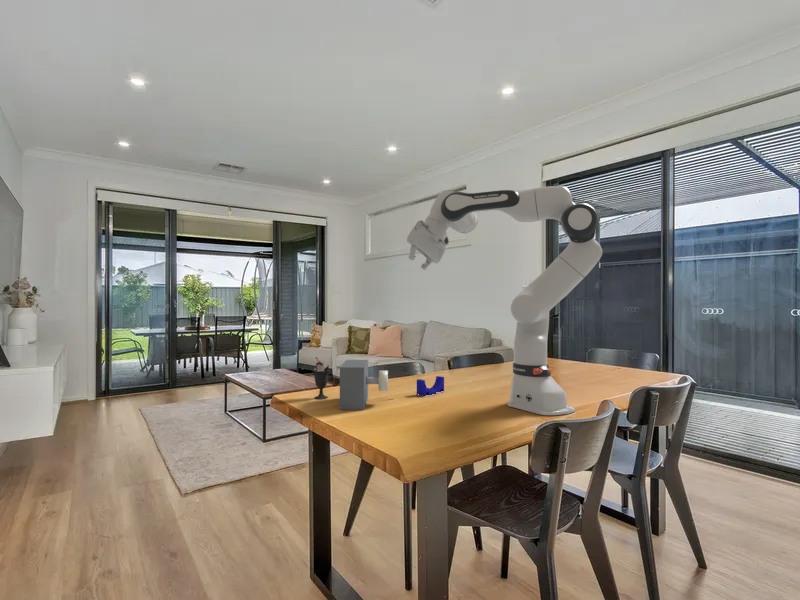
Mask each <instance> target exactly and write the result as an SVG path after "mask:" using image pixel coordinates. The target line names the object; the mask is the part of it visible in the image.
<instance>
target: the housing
mask: <svg viewBox="0 0 800 600" xmlns="http://www.w3.org/2000/svg"><path fill="white" fill-rule="evenodd" d="M366 377H369V359H346V360H345V361H344V362H343V363H342V364H341V365H340V366H339V411H364V410H365V408H366V405H367V402H368V399H369V384H366Z"/></svg>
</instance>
